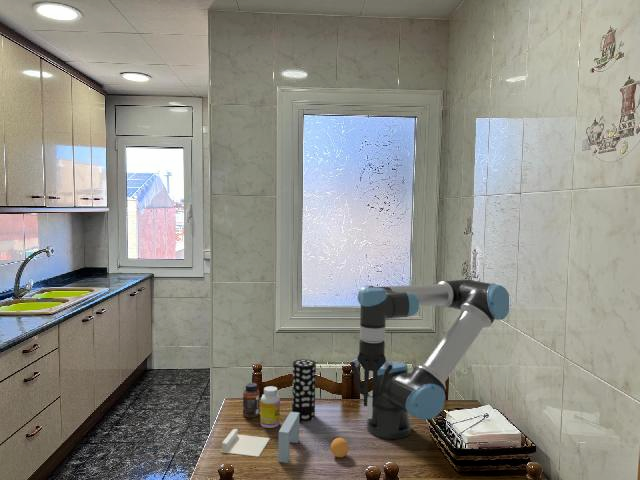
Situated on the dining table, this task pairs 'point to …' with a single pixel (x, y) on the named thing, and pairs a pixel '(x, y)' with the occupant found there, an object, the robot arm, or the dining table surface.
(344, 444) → the ball
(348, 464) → the dining table surface
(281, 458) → the bridge
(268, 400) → the supplement bottle
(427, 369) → the robot arm
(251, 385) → the supplement bottle
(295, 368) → the spotted tube
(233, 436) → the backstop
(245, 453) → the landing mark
